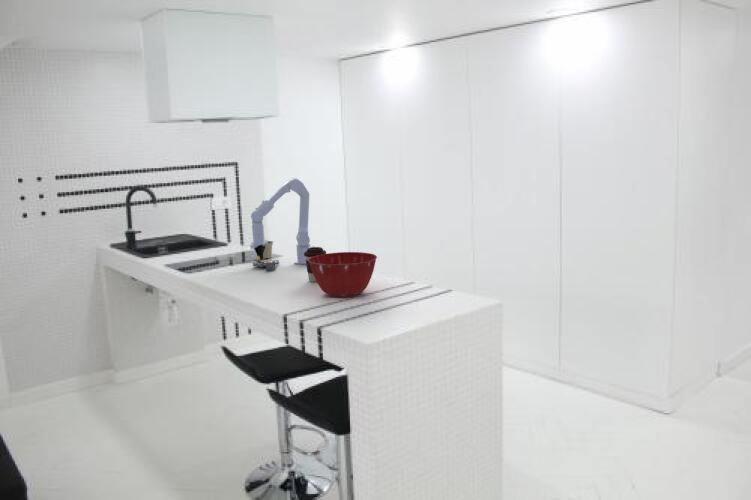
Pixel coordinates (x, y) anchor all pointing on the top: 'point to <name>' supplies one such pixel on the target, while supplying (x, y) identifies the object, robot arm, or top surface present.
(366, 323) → the top surface
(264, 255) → the flower pot
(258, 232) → the robot arm
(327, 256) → the mixing bowl
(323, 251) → the coffee cup
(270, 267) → the cube with orange inset
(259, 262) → the sprocket
